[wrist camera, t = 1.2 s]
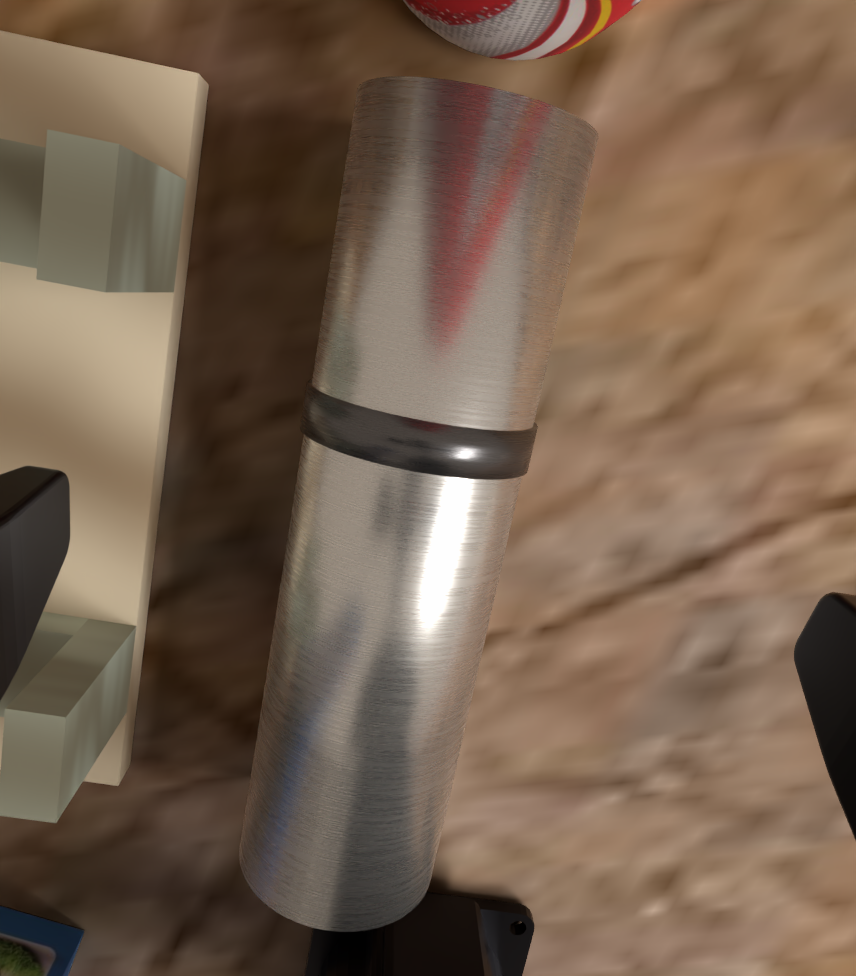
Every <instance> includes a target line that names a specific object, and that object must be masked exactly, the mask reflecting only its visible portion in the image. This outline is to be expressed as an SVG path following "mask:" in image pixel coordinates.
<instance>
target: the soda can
mask: <svg viewBox="0 0 856 976" xmlns="http://www.w3.org/2000/svg"><path fill="white" fill-rule="evenodd" d="M403 1H404V2H405V4H406V5H407V6H408V8H409V9H410V10H411V11H412V12H413V13H414V14H415V15H416V16H417V17H418V18H419V19H420V20H421V21H422V22H423V23H424V24H425V25H426V26H427V27H429V28H430V29H431V30H433V31H434V32H436V33H437V34H439V35H440V36H441V37H443V38H444V39H446V40H447V41H449V42H451V43H453V44H455V45H457V46H459V47H461V48H463V49H465V50H467V51H470V52H473V53H477V54H480V55H483V56H487V57H490V58H498V59H507V60H528V59H539V58H544V57H548V56H552V55H556V54H560V53H563V52H565V51H567V50H570V49H572V48H574V47H577V46H579V45H581V44H583V43H585V42H586V41H588V40H590V39H591V38H593V37H594V36H596V35H597V34H599V33H600V32H602V31H604V30H605V29H606V28H608V27H609V26H610V25H612V24H613V23H614V22H616V21H617V20H618V19H620V18H621V17H622V16H624V15H625V14H626V13H628V12H629V11H630V10H631V9H632V8H633V7H634V6H635V5H637V4H638V3H639V2H640V1H641V0H403Z"/></svg>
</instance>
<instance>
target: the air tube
mask: <svg viewBox="0 0 856 976" xmlns="http://www.w3.org/2000/svg"><path fill="white" fill-rule="evenodd" d="M597 141H598V133H597V131H596V130H595V129H594V128H593V127H592V126H591V125H590V124H589V123H587V122H586V121H584V120H583V119H581V118H579V117H578V116H575V115H573V114H571V113H569V112H567V111H565V110H563V109H560V108H558V107H555V106H553V105H550V104H547V103H544V102H542V101H539V100H535V99H532V98H529V97H526V96H522V95H519V94H515V93H511V92H507V91H503V90H499V89H495V88H490V87H486V86H481V85H475V84H470V83H464V82H458V81H452V80H443V79H435V78H423V77H383V78H376V79H371V80H368V81H365V82H363V83H362V84H360V85H359V87H358V88H357V95H356V101H355V108H354V114H353V120H352V127H351V133H350V140H349V146H348V153H347V159H346V166H345V172H344V178H343V185H342V191H341V198H340V204H339V211H338V217H337V224H336V230H335V236H334V243H333V249H332V256H331V262H330V269H329V275H328V282H327V288H326V294H325V301H324V307H323V314H322V320H321V327H320V333H319V340H318V346H317V352H316V359H315V365H314V372H313V378H312V379H311V380H309V381H308V382H307V387H306V393H305V400H304V406H303V413H302V419H301V426H300V429H301V431H302V433H303V434H304V436H303V443H302V449H301V456H300V462H299V468H298V475H297V481H296V488H295V494H294V501H293V507H292V514H291V520H290V526H289V533H288V539H287V546H286V552H285V559H284V565H283V572H282V578H281V585H280V591H279V597H278V604H277V610H276V617H275V623H274V630H273V636H272V643H271V649H270V655H269V662H268V668H267V675H266V681H265V688H264V694H263V701H262V707H261V713H260V720H259V726H258V733H257V739H256V746H255V752H254V759H253V765H252V771H251V778H250V784H249V791H248V797H247V804H246V810H245V817H244V823H243V829H242V836H241V842H240V850H239V859H240V866H241V869H242V872H243V875H244V878H245V879H246V881H247V883H248V885H249V887H250V888H251V889H252V891H253V892H254V893H255V894H256V896H257V897H258V898H260V899H261V900H262V901H263V902H264V903H265V904H266V905H267V906H269V907H270V908H271V909H273V910H274V911H275V912H277V913H279V914H281V915H282V916H284V917H286V918H288V919H290V920H292V921H295V922H297V923H299V924H303V925H306V926H309V927H312V928H317V929H322V930H327V931H337V932H356V931H364V930H370V929H375V928H379V927H382V926H385V925H388V924H390V923H393V922H395V921H397V920H399V919H400V918H402V917H404V916H405V915H407V914H408V913H409V912H411V911H412V910H413V909H414V908H415V907H416V906H417V905H418V904H419V903H420V901H421V900H422V899H423V897H424V896H425V894H426V892H427V890H428V888H429V884H430V880H431V876H432V872H433V867H434V863H435V859H436V854H437V850H438V845H439V841H440V836H441V832H442V828H443V823H444V819H445V814H446V810H447V805H448V801H449V797H450V792H451V788H452V783H453V779H454V774H455V770H456V766H457V761H458V757H459V752H460V748H461V743H462V739H463V735H464V730H465V726H466V721H467V717H468V712H469V708H470V704H471V699H472V695H473V690H474V686H475V681H476V677H477V673H478V668H479V664H480V659H481V655H482V650H483V646H484V642H485V637H486V633H487V628H488V624H489V619H490V615H491V611H492V606H493V602H494V597H495V593H496V588H497V584H498V580H499V575H500V571H501V566H502V562H503V557H504V553H505V549H506V544H507V540H508V535H509V531H510V526H511V522H512V518H513V513H514V509H515V504H516V500H517V495H518V491H519V487H520V482H521V478H522V476H523V475H525V474H526V473H527V471H528V467H529V463H530V458H531V454H532V450H533V445H534V441H535V436H536V432H537V428H538V426H537V424H536V423H535V422H534V420H535V416H536V411H537V407H538V402H539V398H540V394H541V389H542V385H543V380H544V376H545V371H546V367H547V363H548V358H549V354H550V349H551V345H552V340H553V336H554V332H555V327H556V323H557V318H558V314H559V309H560V305H561V301H562V296H563V292H564V287H565V283H566V278H567V274H568V270H569V265H570V261H571V256H572V252H573V247H574V243H575V239H576V234H577V230H578V225H579V221H580V216H581V212H582V208H583V203H584V199H585V194H586V190H587V185H588V181H589V177H590V172H591V168H592V163H593V159H594V154H595V150H596V146H597Z"/></svg>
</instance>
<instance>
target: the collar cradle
mask: <svg viewBox="0 0 856 976" xmlns="http://www.w3.org/2000/svg"><path fill="white" fill-rule="evenodd" d="M208 89H209V85H208V83H207V82H206V81H205V80H204V79H203V78H202V77H201V76H200V74H199V73H195V72H190V71H185V70H181V69H176V68H172V67H167V66H162V65H158V64H153V63H148V62H144V61H139V60H135V59H130V58H125V57H121V56H116V55H111V54H107V53H102V52H98V51H93V50H88V49H84V48H79V47H74V46H70V45H65V44H61V43H56V42H51V41H47V40H42V39H37V38H33V37H28V36H24V35H19V34H14V33H10V32H5V31H0V474H3V473H6V472H9V471H11V470H14V469H17V468H20V467H23V466H37V467H43V468H49V469H56V470H60V471H63V472H64V473H65V474H66V475H67V477H68V480H69V486H70V543H69V548H68V552H67V555H66V558H65V560H64V563H63V565H62V567H61V570H60V572H59V575H58V577H57V579H56V582H55V584H54V586H53V589H52V591H51V594H50V596H49V598H48V601H47V603H46V605H45V608H44V610H43V613H42V615H41V617H40V620H39V622H38V624H37V627H36V629H35V632H34V634H33V636H32V639H31V641H30V643H29V646H28V648H27V651H26V653H25V655H24V657H23V659H22V662H21V664H20V666H19V668H18V670H17V672H16V674H15V676H14V678H13V680H12V681H11V683H10V685H9V687H8V689H7V691H6V692H5V694H4V696H3V697H2V699H1V701H0V770H1V772H0V816H5V817H13V818H20V819H28V820H35V821H43V822H51V823H57V821H58V820H59V818H60V816H61V815H62V813H63V812H64V810H65V809H66V807H67V805H68V804H69V802H70V801H71V799H72V798H73V796H74V794H75V793H76V791H77V790H78V788H79V787H80V785H81V783H82V782H83V781H85V782H93V783H100V784H107V785H114V786H119V784H120V782H121V780H122V779H123V777H124V775H125V773H126V771H127V770H128V768H129V766H130V763H131V754H132V745H133V737H134V728H135V719H136V711H137V702H138V694H139V685H140V676H141V668H142V659H143V650H144V642H145V633H146V624H147V616H148V607H149V598H150V590H151V581H152V573H153V564H154V555H155V547H156V538H157V529H158V521H159V512H160V503H161V495H162V486H163V477H164V469H165V460H166V452H167V443H168V434H169V426H170V417H171V408H172V400H173V391H174V382H175V374H176V365H177V356H178V348H179V339H180V331H181V322H182V313H183V305H184V296H185V287H186V279H187V270H188V261H189V253H190V244H191V235H192V227H193V218H194V210H195V201H196V192H197V184H198V175H199V166H200V158H201V149H202V140H203V132H204V123H205V114H206V106H207V97H208Z"/></svg>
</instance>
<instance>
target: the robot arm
mask: <svg viewBox="0 0 856 976" xmlns="http://www.w3.org/2000/svg"><path fill="white" fill-rule="evenodd" d="M69 543H70V486H69V480H68V477H67V475H66V474H65V473H64V472H63V471H60V470H56V469H49V468H43V467H37V466H23V467H20V468H17V469H14V470H11V471H9V472H6V473H3V474H0V701H1V699H2V697H3V696H4V694H5V692H6V691H7V689H8V687H9V685H10V683H11V681H12V680H13V678H14V676H15V674H16V672H17V670H18V668H19V666H20V664H21V662H22V659H23V657H24V655H25V653H26V651H27V648H28V646H29V643H30V641H31V639H32V636H33V634H34V632H35V629H36V627H37V624H38V622H39V620H40V617H41V615H42V613H43V610H44V608H45V605H46V603H47V601H48V598H49V596H50V594H51V591H52V589H53V586H54V584H55V582H56V579H57V577H58V575H59V572H60V570H61V567H62V565H63V563H64V560H65V558H66V555H67V552H68V548H69ZM794 661H795V665H796V669H797V672H798V675H799V679H800V682H801V685H802V689H803V692H804V695H805V699H806V702H807V705H808V709H809V712H810V715H811V719H812V722H813V725H814V729H815V732H816V735H817V739H818V742H819V745H820V749H821V752H822V755H823V758H824V761H825V764H826V767H827V770H828V773H829V776H830V778H831V781H832V784H833V786H834V789H835V791H836V794H837V796H838V799H839V801H840V804H841V806H842V808H843V811H844V813H845V816H846V818H847V821H848V823H849V825H850V828H851V830H852V833H853V835H854V838H855V840H856V595H849V594H843V593H835V592H831V593H829V594H826V595H825V596H823V597H822V598H821V599H820V601H819V602H818V604H817V606H816V607H815V609H814V611H813V613H812V615H811V616H810V618H809V620H808V622H807V624H806V625H805V627H804V629H803V631H802V633H801V634H800V636H799V638H798V640H797V642H796V645H795V649H794ZM515 921H521V922H522V923H520V924H518V925H513V924H512V923H513V922H515ZM533 932H534V922H533V917H532V914H531V911H530V910H529V909H528V908H527V907H526V906H524V905H521V904H514V903H507V902H499V901H492V900H484V899H476V898H469V897H461V896H453V895H446V894H438V893H430V892H426V894H425V896H424V897H423V899H422V900H421V901H420V903H419V904H418V905H417V906H416V907H415V908H414V909H413V910H412V911H411V912H409V913H408V914H407V915H405V916H404V917H402V918H400V919H399V920H397V921H395V922H393V923H390V924H388V925H385V926H382V927H379V928H375V929H370V930H364V931H356V932H337V931H327V930H322V929H317V928H313V932H312V937H311V943H310V948H309V953H308V959H307V964H306V969H305V975H304V976H522V974H523V970H524V966H525V963H526V959H527V955H528V951H529V947H530V944H531V940H532V936H533Z"/></svg>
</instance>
